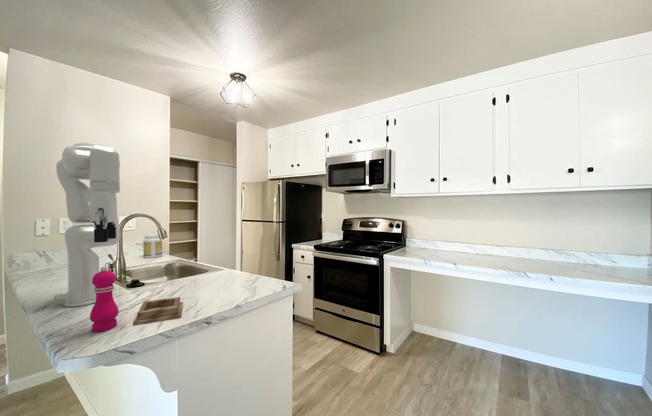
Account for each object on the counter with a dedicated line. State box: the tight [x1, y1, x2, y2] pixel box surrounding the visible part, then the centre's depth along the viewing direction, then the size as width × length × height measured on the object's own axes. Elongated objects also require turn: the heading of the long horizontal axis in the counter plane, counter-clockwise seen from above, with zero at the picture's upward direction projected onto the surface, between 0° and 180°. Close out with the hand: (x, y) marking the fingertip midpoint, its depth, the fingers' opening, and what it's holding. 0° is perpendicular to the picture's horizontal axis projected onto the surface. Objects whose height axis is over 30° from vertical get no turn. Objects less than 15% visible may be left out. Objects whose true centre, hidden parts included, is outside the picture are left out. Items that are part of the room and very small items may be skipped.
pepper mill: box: [89, 265, 120, 333], centre depth 87 cm, size 7×7×20 cm
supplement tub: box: [142, 233, 163, 259], centre depth 205 cm, size 12×12×17 cm
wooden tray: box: [132, 296, 184, 326], centre depth 98 cm, size 14×14×4 cm
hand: (105, 240), depth 87 cm, fingers open, 9 cm apart
